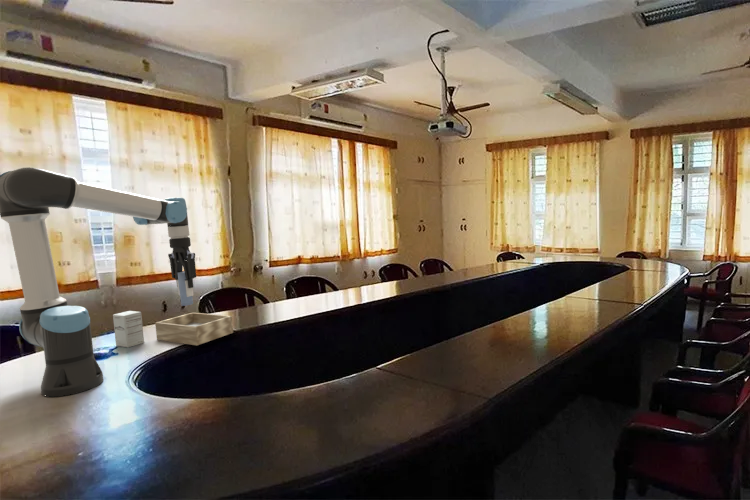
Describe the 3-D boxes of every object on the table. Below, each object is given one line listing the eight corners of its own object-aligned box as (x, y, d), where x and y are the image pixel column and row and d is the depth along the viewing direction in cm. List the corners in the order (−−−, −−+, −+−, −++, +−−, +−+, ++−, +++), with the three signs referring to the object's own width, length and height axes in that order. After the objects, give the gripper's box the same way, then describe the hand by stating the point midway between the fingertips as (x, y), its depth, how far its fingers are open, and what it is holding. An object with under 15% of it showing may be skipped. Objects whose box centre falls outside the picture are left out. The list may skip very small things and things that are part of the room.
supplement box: (115, 346, 170) (111, 314, 169) (133, 340, 176) (130, 310, 175) (127, 348, 166) (123, 315, 165) (145, 342, 173) (141, 311, 172)
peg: (186, 305, 170) (182, 273, 168) (178, 305, 172) (175, 273, 171) (195, 303, 174) (191, 271, 172) (188, 302, 176) (184, 271, 174)
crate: (196, 345, 164) (195, 327, 164) (156, 339, 176) (155, 322, 175) (233, 332, 180) (231, 316, 179) (194, 328, 191) (192, 312, 191)
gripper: (202, 235, 169) (208, 294, 171) (173, 236, 178) (180, 292, 180) (185, 237, 163) (192, 298, 165) (157, 238, 171) (164, 296, 173)
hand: (186, 295), depth 172 cm, fingers closed on peg, 4 cm apart
